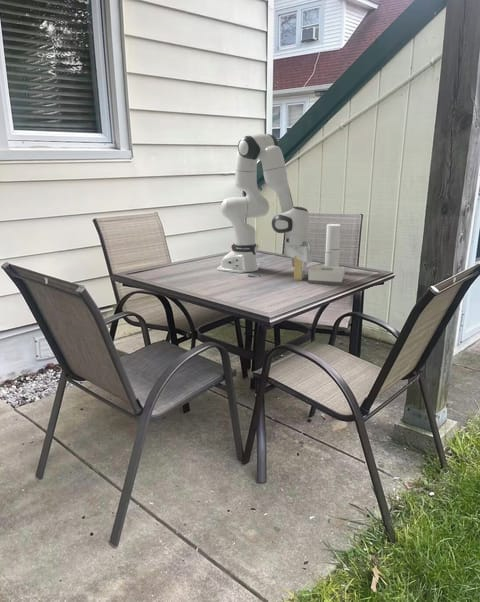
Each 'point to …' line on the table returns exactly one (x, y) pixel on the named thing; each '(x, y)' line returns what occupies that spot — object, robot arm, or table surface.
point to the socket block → (326, 275)
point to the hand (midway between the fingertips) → (298, 268)
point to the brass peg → (297, 269)
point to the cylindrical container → (332, 245)
